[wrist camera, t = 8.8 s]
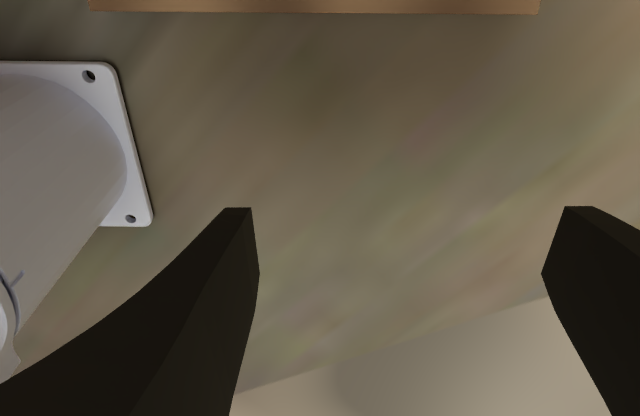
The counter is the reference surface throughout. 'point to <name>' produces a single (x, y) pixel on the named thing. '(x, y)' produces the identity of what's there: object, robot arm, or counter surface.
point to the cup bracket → (323, 6)
